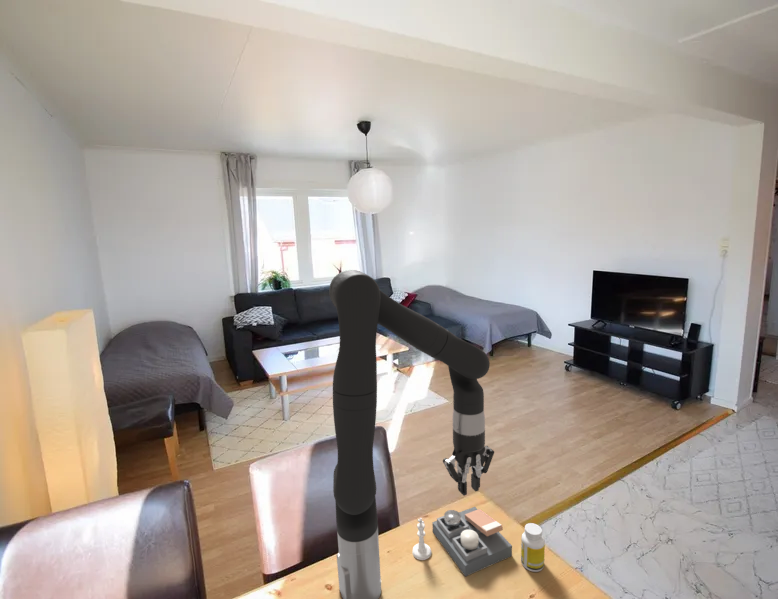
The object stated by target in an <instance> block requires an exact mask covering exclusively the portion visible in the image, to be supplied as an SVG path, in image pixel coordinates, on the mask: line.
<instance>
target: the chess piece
mask: <svg viewBox="0 0 778 599" xmlns="http://www.w3.org/2000/svg"><path fill="white" fill-rule="evenodd" d="M416 524H417V525H416V527H417V529H418V531H417V532H416V533H417V534H416V535H417V536H418V537H419V540H418V543H416V544H414V546H413V547H412V556H413V557H414V558H415V559H417V560H419V561H425V560H427V559H429V558H430V557H431V556H432V549H431V547H430V545H429V544H427V543H425V539H424V537H425V536H426V531H425V528H426V525H425V521H423V518H422V517H419V518H418V519H417V523H416Z"/></svg>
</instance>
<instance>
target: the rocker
mask: <svg viewBox="0 0 778 599" xmlns="http://www.w3.org/2000/svg"><path fill="white" fill-rule="evenodd" d="M477 509H478V510H475V511H472V512H470V513H467V514H465V519H466V520H467V521H468V522H470V523H471V524H472V525H473V526H475V527H476V528H477V529H478V530H480V531H481V532H482V533H483V534H484V535H486V536H489V535H492V534H494V533H497V532H499V533H500V532H501V531H504V528H503V524H501V523H500V522H499V521H497V520H496V519H494V518H493V517H492V516H490V515H489V514H487V513H486V512H485V511H483V510H482V509H480V508H477Z"/></svg>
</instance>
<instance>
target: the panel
mask: <svg viewBox="0 0 778 599" xmlns="http://www.w3.org/2000/svg"><path fill="white" fill-rule="evenodd" d="M478 509H479V508H477V507H476V506H473V507H471V508H468V509H465V510H462V511H460V512H459V511H458V512H459V513H460V515H461V525H460V526H459V527H457V528H449V527H447V526H446V525H445V523H444V515H443V516H439V517H437V518H436V520H435V521H432V522H431V523H432V524H431V525H432V533H433V535H434V536H435V537H436V539H437V540H438V541H439V543H440V544H441V545H442V547H443V548H444V550H445V551H446V552H447V553H448V555H449V557H450V558H451V559H452V560H453V562H454V563H455V564H456V566H457V567H458V569H459V570H460V571H461V573H462V574H463V576H464V577H467V576H470V575H472V574H474V573H477V572H479V571H481V570H483V569H485V568H488V567H490V566H492V565H495V564H497V563H500V562H501V561H503V560H506V559H508V558H511V557H512V556H513V545H512V544H511V543H510V542H509V540H508V539H506V537H504V535H503V534H502V533H501V532H500V531H499V532H497V533H494V534H492V535H489V536H486V535H484V534H483V533H482V532H481V531H480V530H478V529H477V528H476V527H475V526H473V525H472V524H471V523H470V522H468V521H467V520H466V519H465V514H467V513H470V512H472V511H475V510H478ZM464 530H473V531H475V532H476V533H477V534H478V536H479V545H478V547H477V548H476V549H474V550H468V549H465V548H464V547H463V546H462V545H461V533H462V531H464Z"/></svg>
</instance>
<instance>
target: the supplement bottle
mask: <svg viewBox="0 0 778 599" xmlns="http://www.w3.org/2000/svg"><path fill="white" fill-rule="evenodd" d="M520 545H521V546H520V558H521V559H520V563H521V564H522V566H523V567H524V569H526V570H528V571H530V572H533V573H538V572H541V571H542V570H543V569H544V567H545V552H546V551H545V550H546V549H545V548H546V547H545V546H546V544H545V538H544V536H543V529H542V527H541V526H540V525H538V524H536V523H533V522H529V523H526V524H525V525H524V532H523V533H522V534H521V543H520Z"/></svg>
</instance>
